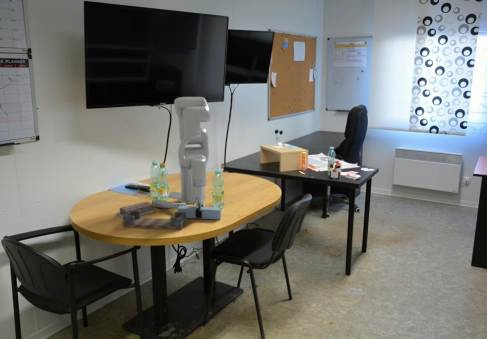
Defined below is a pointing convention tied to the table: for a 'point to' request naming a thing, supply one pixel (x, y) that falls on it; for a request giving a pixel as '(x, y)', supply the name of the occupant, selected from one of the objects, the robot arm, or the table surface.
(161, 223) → the cradle
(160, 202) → the grey long bar
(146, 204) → the grey brown block
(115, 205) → the table surface
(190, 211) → the slat
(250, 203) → the table surface
